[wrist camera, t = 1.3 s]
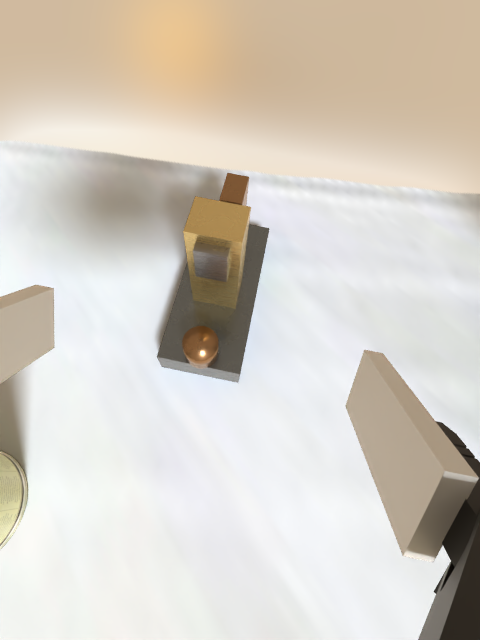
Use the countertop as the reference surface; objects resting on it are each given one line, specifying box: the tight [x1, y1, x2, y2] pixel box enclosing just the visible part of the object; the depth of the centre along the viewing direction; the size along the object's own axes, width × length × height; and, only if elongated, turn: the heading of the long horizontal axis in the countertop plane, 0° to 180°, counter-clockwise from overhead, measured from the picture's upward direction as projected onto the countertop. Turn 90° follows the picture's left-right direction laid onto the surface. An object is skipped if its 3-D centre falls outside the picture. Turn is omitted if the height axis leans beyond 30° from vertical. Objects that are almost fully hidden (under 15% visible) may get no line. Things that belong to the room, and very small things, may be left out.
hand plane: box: [157, 173, 269, 382], centre depth 38 cm, size 9×20×12 cm, turn 169°
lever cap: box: [183, 196, 251, 309], centre depth 34 cm, size 5×5×12 cm
